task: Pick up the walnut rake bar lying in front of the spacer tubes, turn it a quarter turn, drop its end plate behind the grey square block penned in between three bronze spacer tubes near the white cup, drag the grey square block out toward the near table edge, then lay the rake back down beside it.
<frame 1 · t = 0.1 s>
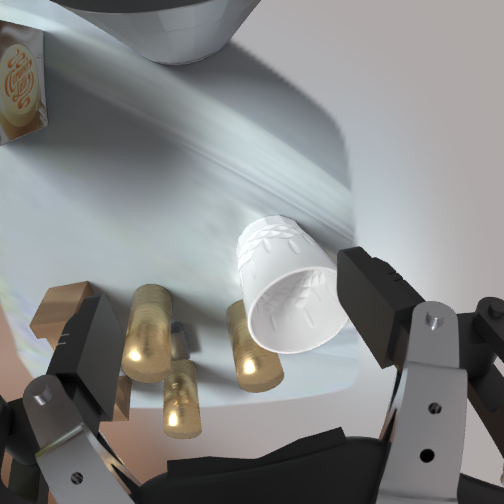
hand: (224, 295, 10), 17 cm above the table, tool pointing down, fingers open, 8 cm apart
rake: (96, 341, 32), on the table
white cup: (270, 246, 30), on the table
spacer 1: (179, 368, 36), on the table
coffee box: (17, 88, 18), on the table
grey square block: (167, 336, 34), on the table
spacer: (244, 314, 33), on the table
spacer 2: (152, 300, 31), on the table
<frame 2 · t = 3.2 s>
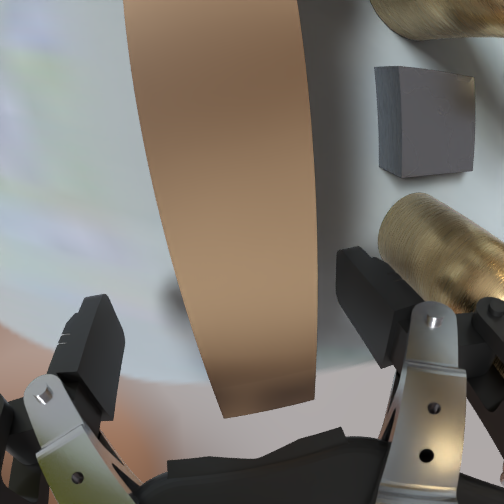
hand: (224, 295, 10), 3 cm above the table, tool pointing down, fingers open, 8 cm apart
rake: (211, 103, 10), on the table
spacer 1: (412, 231, 14), on the table
grey square block: (413, 116, 11), on the table
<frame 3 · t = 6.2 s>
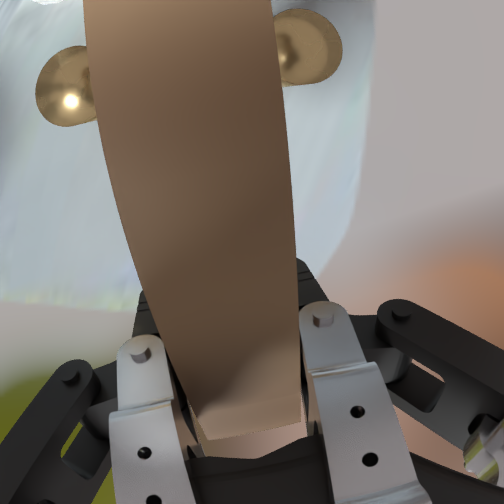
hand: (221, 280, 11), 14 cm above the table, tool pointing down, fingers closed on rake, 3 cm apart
rake: (193, 115, 10), point 13 cm above the table, touching gripper
spacer 1: (263, 64, 20), on the table
spacer 2: (114, 90, 19), on the table
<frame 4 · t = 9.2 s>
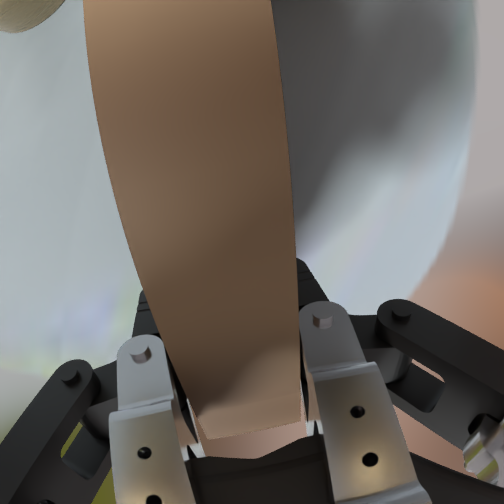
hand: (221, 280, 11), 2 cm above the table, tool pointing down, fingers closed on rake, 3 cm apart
rake: (193, 114, 10), on the table, touching gripper, grey square block
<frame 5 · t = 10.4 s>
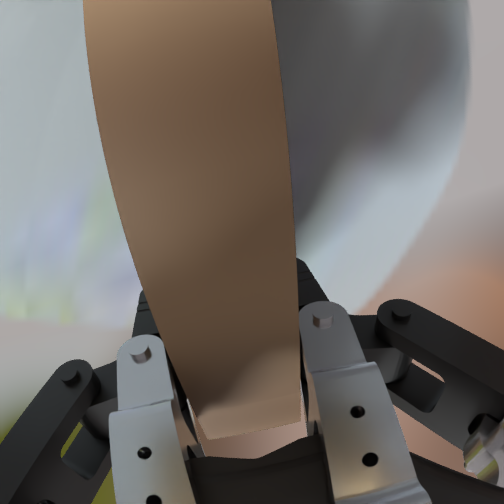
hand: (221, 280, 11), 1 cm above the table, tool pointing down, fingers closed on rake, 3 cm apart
rake: (193, 114, 10), on the table, touching gripper
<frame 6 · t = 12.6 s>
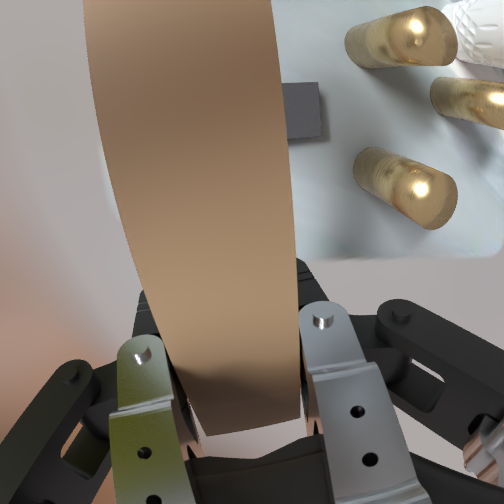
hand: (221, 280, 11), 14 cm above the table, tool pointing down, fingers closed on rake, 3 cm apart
rake: (193, 109, 9), point 13 cm above the table, touching gripper
white cup: (459, 33, 20), on the table
spacer 1: (372, 168, 26), on the table
grey square block: (285, 109, 23), on the table
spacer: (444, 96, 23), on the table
spacer 2: (365, 46, 21), on the table
when the fingers open (2 cm above the table, at t = 14.6 s): rake drops 1 cm, on the table.
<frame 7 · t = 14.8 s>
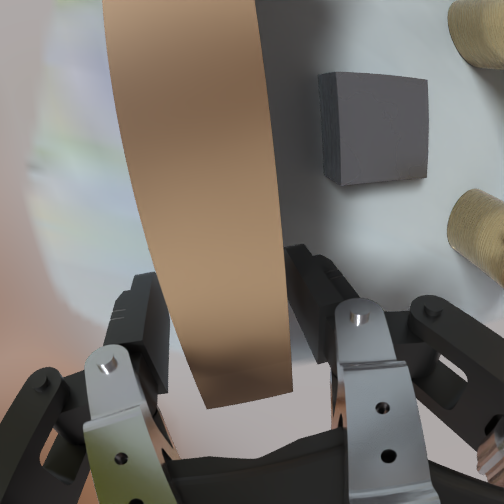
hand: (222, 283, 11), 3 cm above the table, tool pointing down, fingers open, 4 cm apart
rake: (194, 113, 11), on the table
spacer 1: (469, 220, 15), on the table
grey square block: (363, 123, 12), on the table
spacer 2: (472, 33, 10), on the table
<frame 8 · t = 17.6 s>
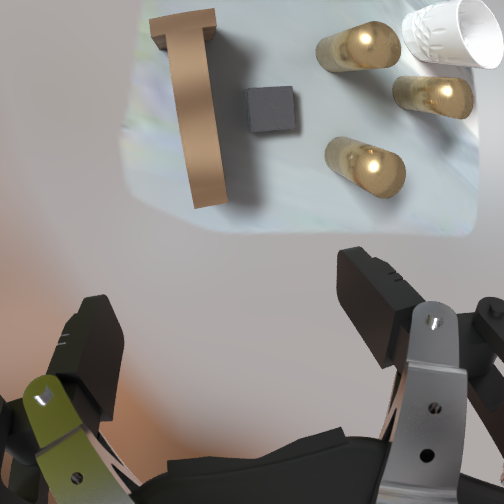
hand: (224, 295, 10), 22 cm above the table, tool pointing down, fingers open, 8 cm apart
rake: (194, 107, 27), on the table
white cup: (421, 37, 26), on the table
spacer 1: (341, 154, 32), on the table
grey square block: (267, 108, 29), on the table
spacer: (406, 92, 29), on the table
spacer 2: (333, 54, 26), on the table
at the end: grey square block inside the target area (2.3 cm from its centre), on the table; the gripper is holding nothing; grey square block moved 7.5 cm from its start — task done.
